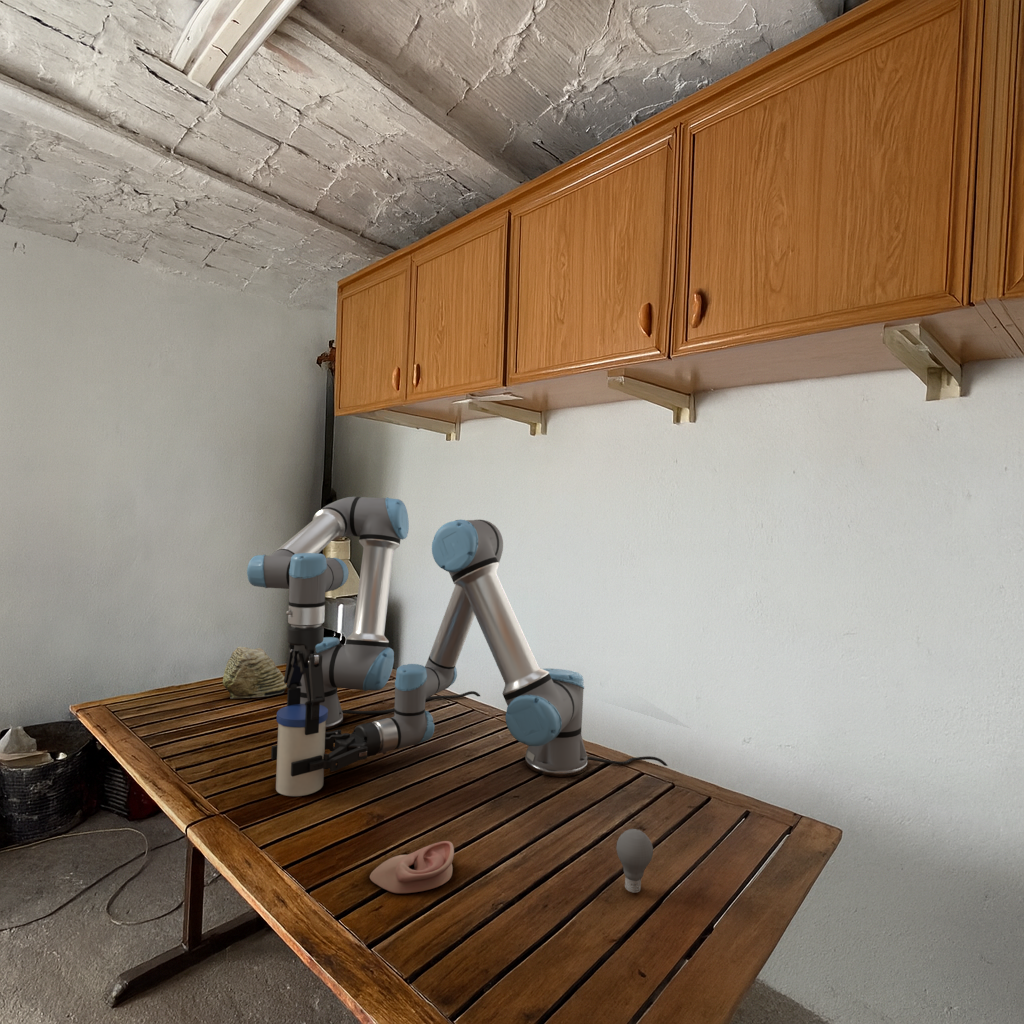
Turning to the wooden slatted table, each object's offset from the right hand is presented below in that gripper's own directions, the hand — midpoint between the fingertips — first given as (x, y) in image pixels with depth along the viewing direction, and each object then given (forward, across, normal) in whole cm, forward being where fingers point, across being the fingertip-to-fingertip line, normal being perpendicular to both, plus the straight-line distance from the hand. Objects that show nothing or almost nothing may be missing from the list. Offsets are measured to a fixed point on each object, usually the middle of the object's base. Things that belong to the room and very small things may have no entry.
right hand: (281, 761), depth 135 cm
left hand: (-4, 0, +7) cm, 8 cm away
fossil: (-19, +67, -6) cm, 70 cm away
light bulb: (-32, -69, -6) cm, 76 cm away
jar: (-4, 0, -6) cm, 8 cm away
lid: (-4, 0, +10) cm, 10 cm away
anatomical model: (-6, -43, -6) cm, 44 cm away
